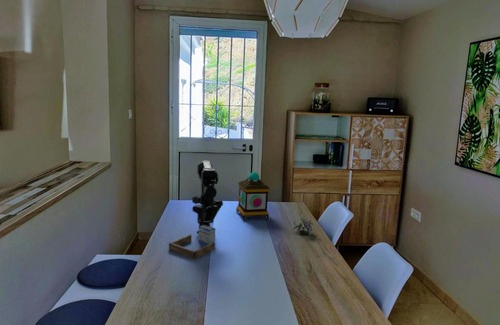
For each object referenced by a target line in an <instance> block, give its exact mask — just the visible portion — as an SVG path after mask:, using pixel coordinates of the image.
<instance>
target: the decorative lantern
mask: <svg viewBox="0 0 500 325" xmlns="http://www.w3.org/2000/svg"><path fill="white" fill-rule="evenodd" d="M237 184H238V187H239V190H238V192H239V193H238V197H237V198H238V199H237V200H238V205H237V206H236V209H235V210H236V213H237V212H238V213H239V214H240V215H241V216H242V220H243V221H245V220H246V218H247V217H264V216H265V219H266V220H268V219H269V217H270V216H269V211H268V202H269V200H268V199H269V198H268V197H269V192H270V190H271V188H270V187H269V186H268V185H267V184H266V183H264V182H263V181H262V180H261V179H260V175H259V173H258V172H256V171H253V172H251V173H250V174H249V175H248V177H247V178H246V179H244V180H241V181H239V182H237Z"/></svg>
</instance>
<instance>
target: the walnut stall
mask: <svg viewBox="0 0 500 325" xmlns="http://www.w3.org/2000/svg"><path fill="white" fill-rule="evenodd" d="M190 242H192V234H188V235H185V236H183V237H180V238H178V239H175V240H173V241H171V242H169V244H168V250H169V251H171V252H174V253H176V254H179V255H182V256H184V257H187V258H190V259H193V260H197V259H199V258H201V257H202V256H203V255H206V254H208V253H210V252H211V251H215V249H216V241H215V242H213V243H210V244H208V245H207V244H205V246H202V247H201V248H198V249H196V250H193V249H189V248H186V247H184V246H183V245H185V244H189V243H190Z"/></svg>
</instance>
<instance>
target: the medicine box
mask: <svg viewBox="0 0 500 325" xmlns="http://www.w3.org/2000/svg"><path fill="white" fill-rule="evenodd" d="M198 231H199V233H198V242H199V243H201V244H204V245H208V244H210V243H213V242H215V243H216V228H215V227H212V226H210V227H209V226H206V225H202V226H200V227H199V226H198Z"/></svg>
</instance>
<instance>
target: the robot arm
mask: <svg viewBox="0 0 500 325" xmlns="http://www.w3.org/2000/svg"><path fill="white" fill-rule="evenodd" d="M196 171H197V172H196V174H197V175H198V177H197V178H198V179H199V181H200V183H201V184H200V188H201V190H200V192H201V194H200V196H192V199H191V200H192V203H193V204H194V205H193V206H192V212H194V213H195V214H197V215H196V216H197V217H196V219H197V220H196V221H197V224H198V228H199V227H200V226H202V225H206V226H209V227H211V224H213V223H214V220H215V218H216V217H217V215H218V213H219V211H220V210H221V208H222V207H223V206H224V202H223V200H221V199H218V198H217V199H216V196H217V189H216V187H215V185H218V183H219V174H218V171H216V168H213V165H212V164H211V161H210V160H201V162H200V163H199V164H198V165H197V169H196ZM196 233H197V234H199V230H197V231H196Z"/></svg>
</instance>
